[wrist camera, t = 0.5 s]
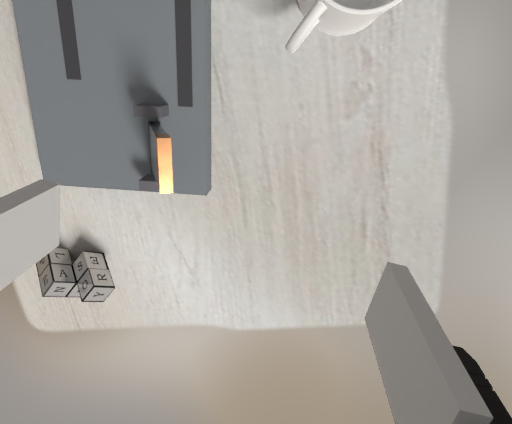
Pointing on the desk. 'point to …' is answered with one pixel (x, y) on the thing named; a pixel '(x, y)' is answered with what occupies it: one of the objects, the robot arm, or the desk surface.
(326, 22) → the mug
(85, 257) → the building blocks
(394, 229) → the desk surface
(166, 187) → the lever
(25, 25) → the panel
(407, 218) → the desk surface
